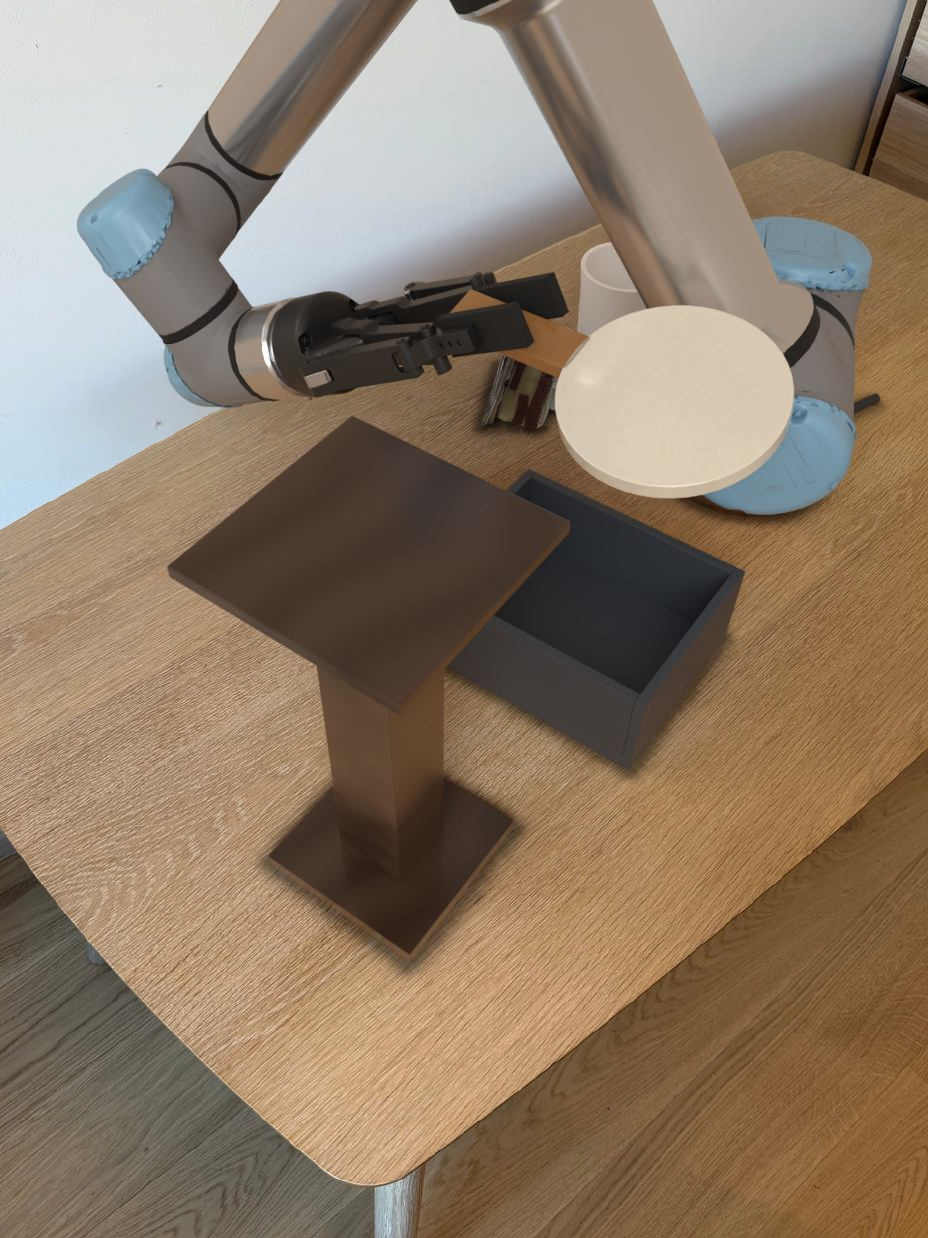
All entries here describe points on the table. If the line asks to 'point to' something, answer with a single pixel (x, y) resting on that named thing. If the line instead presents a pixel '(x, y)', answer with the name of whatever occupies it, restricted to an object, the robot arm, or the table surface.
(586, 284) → the mug
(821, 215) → the table surface
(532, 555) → the stand
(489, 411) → the chocolate cake
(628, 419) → the round paddle with handle
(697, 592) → the tub
